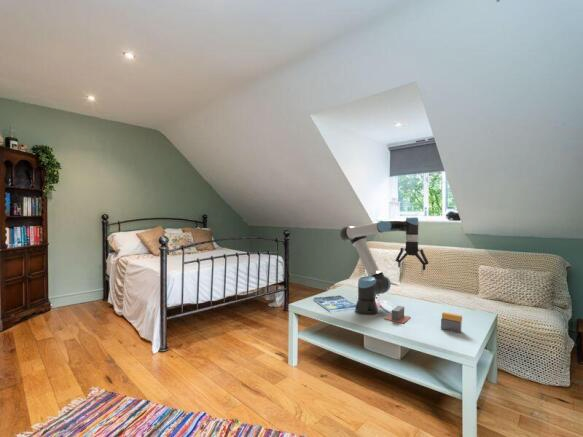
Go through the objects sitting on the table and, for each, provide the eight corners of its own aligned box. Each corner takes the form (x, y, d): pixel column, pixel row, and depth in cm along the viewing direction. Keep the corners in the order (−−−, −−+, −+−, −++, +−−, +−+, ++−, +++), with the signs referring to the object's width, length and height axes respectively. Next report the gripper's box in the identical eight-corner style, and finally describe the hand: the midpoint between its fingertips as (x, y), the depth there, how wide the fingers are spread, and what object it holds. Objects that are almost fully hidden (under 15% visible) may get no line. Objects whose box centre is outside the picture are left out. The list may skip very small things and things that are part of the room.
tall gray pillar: (391, 319, 194) (391, 310, 194) (398, 314, 203) (398, 305, 203) (397, 320, 191) (398, 311, 191) (404, 315, 201) (404, 306, 201)
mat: (384, 319, 196) (384, 318, 196) (392, 313, 207) (392, 312, 207) (403, 323, 188) (403, 322, 188) (410, 317, 199) (410, 316, 199)
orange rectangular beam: (442, 318, 180) (442, 313, 180) (443, 317, 182) (443, 312, 182) (461, 322, 174) (461, 316, 174) (462, 320, 176) (462, 315, 176)
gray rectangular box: (441, 329, 180) (441, 318, 180) (442, 327, 183) (442, 317, 183) (460, 333, 174) (460, 322, 174) (461, 331, 177) (461, 320, 177)
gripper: (390, 240, 203) (390, 272, 204) (431, 242, 188) (430, 277, 188) (394, 239, 209) (394, 270, 210) (434, 241, 194) (433, 275, 194)
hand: (411, 273), depth 199 cm, fingers open, 13 cm apart
